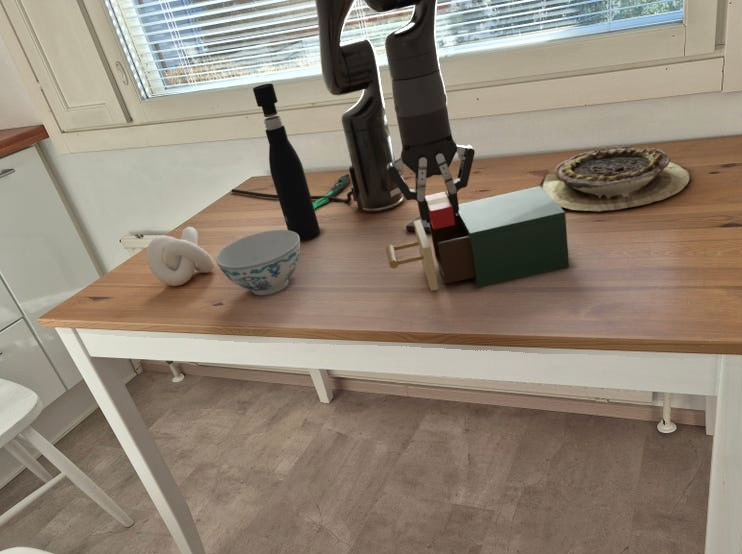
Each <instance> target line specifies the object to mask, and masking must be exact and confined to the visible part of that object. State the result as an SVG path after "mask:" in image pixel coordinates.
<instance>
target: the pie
mask: <svg viewBox="0 0 742 554" xmlns="http://www.w3.org/2000/svg"><path fill="white" fill-rule="evenodd" d="M689 181H690V173H689V171H688V170H686V169H684V168H683V167H681V166H680V165H678V164H676V163H673V162H671V158H669V157H668V155H667V153H666V152H665V151H664V150H661V149H658V148H653V147H652V148H651V147H643V148H642V147H638V148H637V147H636V148H635V147H632V145H623V146H621V145H615V146H610V147H601V148H596V149H594V150H591V151H586V152H582V153H578V154H576V155H573V156H572V157H570V158H568V159H566V160H564V161H562V162H560V163H559V164H558V165H557V166H556V167H555V168H554V173H547V174H545V175H544V176H543V178H542V180H541V181H540V183H539V184H538V186H540V187H541V188H542V189H543V190H544V191H545V192H546V193H547V194H548V195H549V196H550V197H551V198H552V199H553V200H554V201H555V202H556V203H557V204H558V205H559V206H560V207H561V208H565V209H568V210H571V211H584V212H585V211H590V212H602V211H617V210H623V209H628V208H633V207H639V206H644V205H649V204H652V203H654V202H659V201H663V200H665V199H667V198H669V197H672V196H675V195H676V194H678V193H680V192H681V191H683V189H684V188H685V187H686V186H687V185H688V183H689Z"/></svg>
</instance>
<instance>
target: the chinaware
mask: <svg viewBox="0 0 742 554" xmlns="http://www.w3.org/2000/svg"><path fill="white" fill-rule="evenodd" d="M300 257H301V242H300V238H299V235H298V234H297V233H295V232H293V231H288V229H274V230H266V231H263V232H257V233H254V234H250V235H247V236H245V237H242V238H239V239H237V240H235V241H233V242H231V243H229V244H228V245H226V246H225V247H223V248H222V249H221V250H220V251H219V252H218V253H217V254H216V256H215V262H216V264H217V266H218V267H219V269H220V270H221V272H222V273H223V274H224V275H225V276H226V278H228V279H229V280H230V281H231V282H232V283H234V284H235V285H236V286H239V287H241V288H242V289H246V290H250V291H251V292H252V293H253V295H257V296H267V295H268V296H269V295H272V294H275V293H278V292H280V291H281V290H283V289H285V288H286V287H287V286H288V285H289V279H290V277H291V276H292V275H293V274H294V272H295V271H296V269H297V267H298V264H299V261H300Z"/></svg>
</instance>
